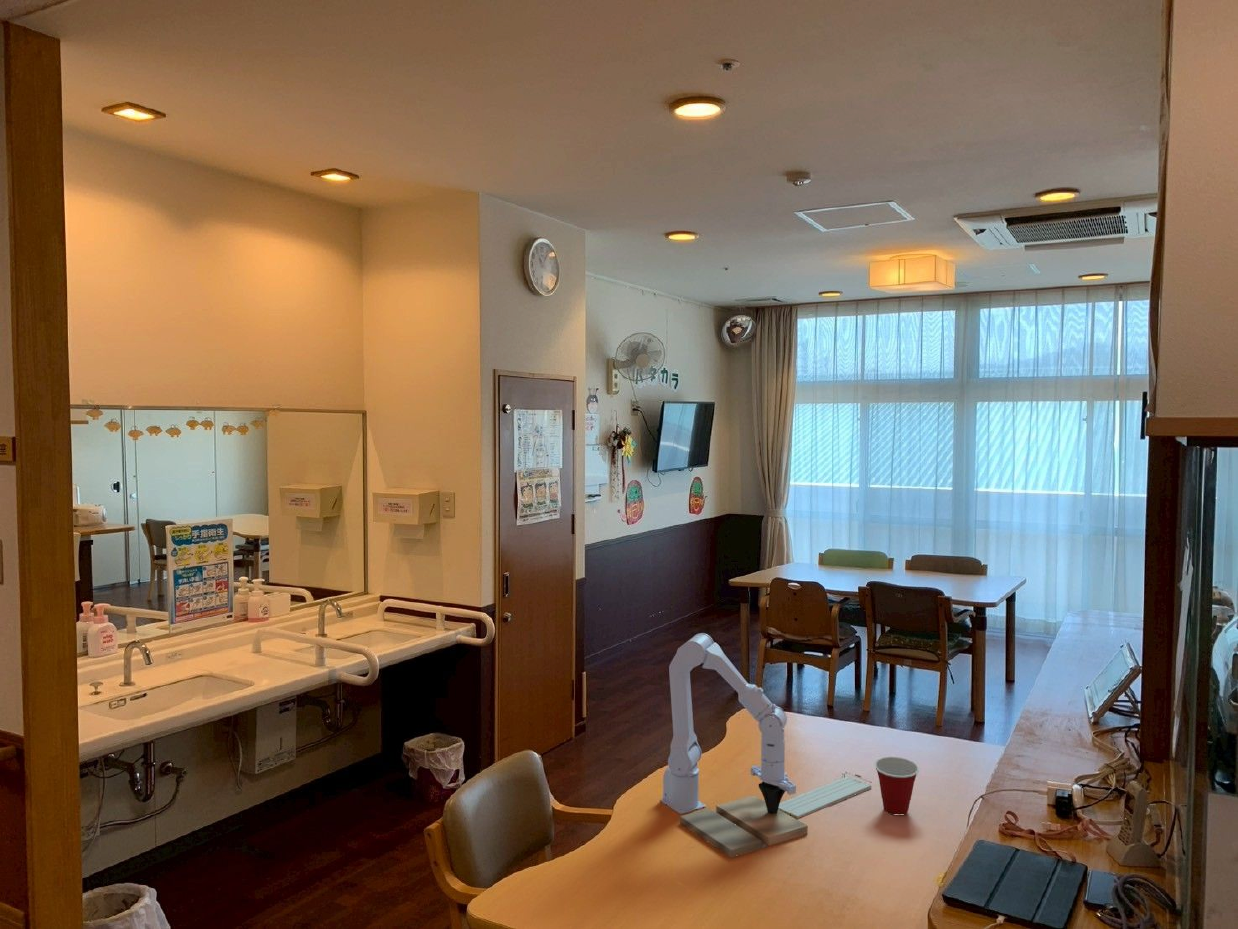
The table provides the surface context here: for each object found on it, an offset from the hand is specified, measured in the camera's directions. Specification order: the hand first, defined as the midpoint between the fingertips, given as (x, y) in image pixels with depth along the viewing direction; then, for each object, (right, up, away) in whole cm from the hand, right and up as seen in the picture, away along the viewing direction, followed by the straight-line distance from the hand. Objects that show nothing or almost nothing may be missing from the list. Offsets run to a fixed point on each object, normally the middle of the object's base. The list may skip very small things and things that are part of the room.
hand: (772, 812), depth 222 cm
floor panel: (-14, -3, -8) cm, 16 cm away
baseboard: (+15, -2, +14) cm, 21 cm away
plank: (-3, -2, -2) cm, 4 cm away
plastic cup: (+32, -2, +6) cm, 33 cm away
